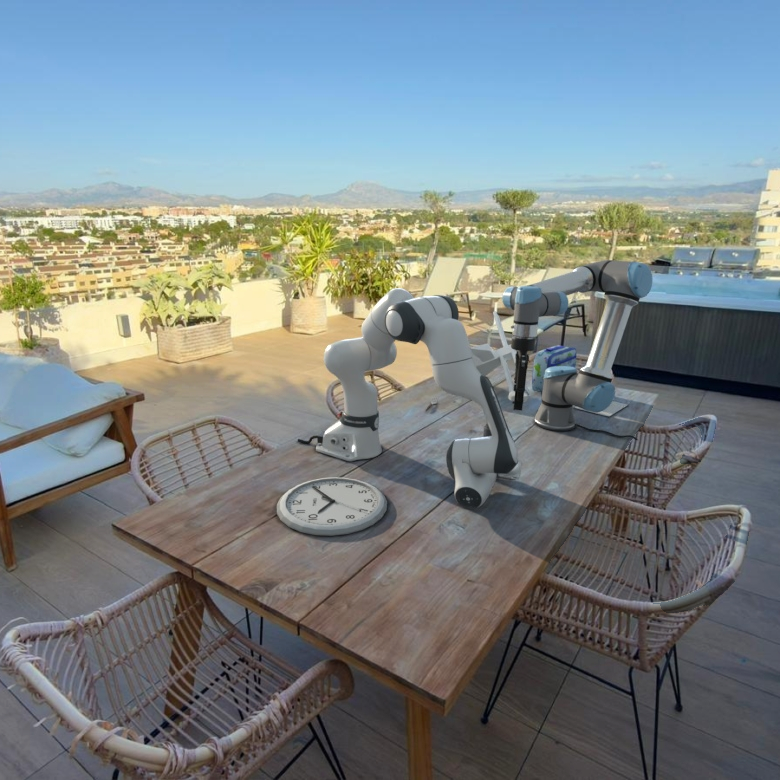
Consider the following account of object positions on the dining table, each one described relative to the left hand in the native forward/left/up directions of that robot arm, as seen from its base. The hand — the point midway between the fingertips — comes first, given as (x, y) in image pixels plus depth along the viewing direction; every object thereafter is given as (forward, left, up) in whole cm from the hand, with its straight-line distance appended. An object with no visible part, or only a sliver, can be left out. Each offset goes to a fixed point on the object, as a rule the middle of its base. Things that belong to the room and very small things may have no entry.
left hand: (491, 455), depth 161 cm
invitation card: (+31, +84, -6) cm, 90 cm away
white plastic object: (-22, +82, -6) cm, 85 cm away
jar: (0, -1, -6) cm, 6 cm away
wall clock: (-35, -37, -6) cm, 52 cm away
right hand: (+4, +16, +11) cm, 20 cm away
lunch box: (+9, +100, -6) cm, 100 cm away
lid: (+4, +16, +15) cm, 23 cm away
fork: (-36, +53, -6) cm, 64 cm away
